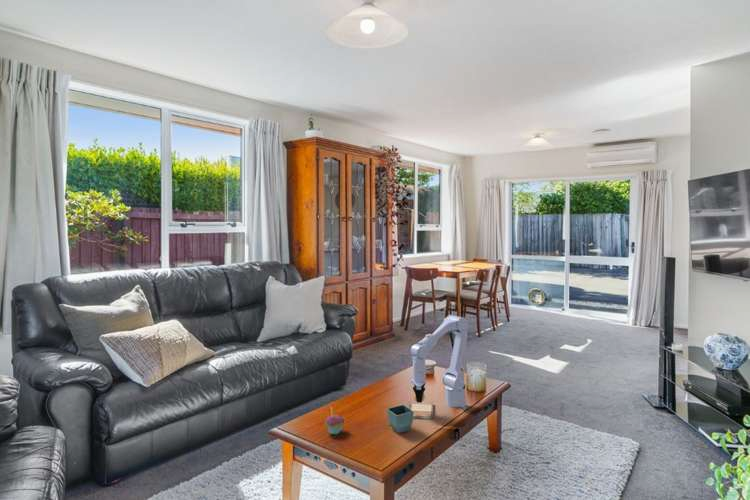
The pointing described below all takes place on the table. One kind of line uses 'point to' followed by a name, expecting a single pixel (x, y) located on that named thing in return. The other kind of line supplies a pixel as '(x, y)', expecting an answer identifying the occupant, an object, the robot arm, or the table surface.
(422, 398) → the ball
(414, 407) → the lane
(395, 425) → the flower pot
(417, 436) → the table surface
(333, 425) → the cupcake
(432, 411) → the rails
